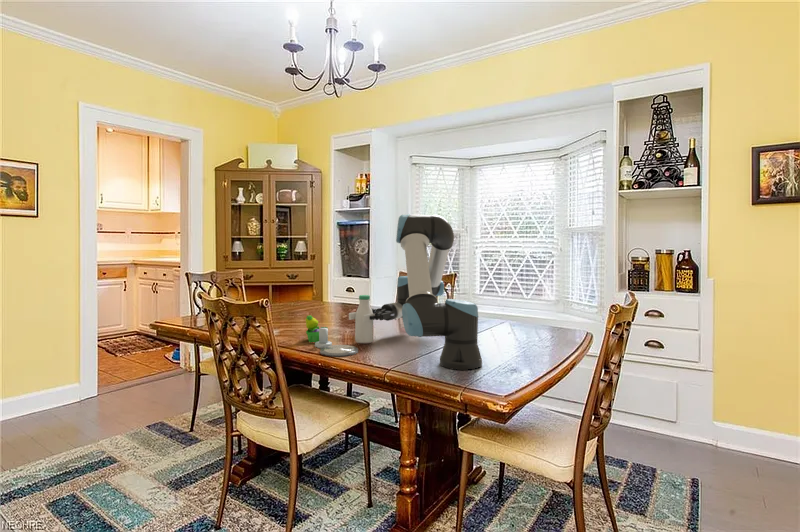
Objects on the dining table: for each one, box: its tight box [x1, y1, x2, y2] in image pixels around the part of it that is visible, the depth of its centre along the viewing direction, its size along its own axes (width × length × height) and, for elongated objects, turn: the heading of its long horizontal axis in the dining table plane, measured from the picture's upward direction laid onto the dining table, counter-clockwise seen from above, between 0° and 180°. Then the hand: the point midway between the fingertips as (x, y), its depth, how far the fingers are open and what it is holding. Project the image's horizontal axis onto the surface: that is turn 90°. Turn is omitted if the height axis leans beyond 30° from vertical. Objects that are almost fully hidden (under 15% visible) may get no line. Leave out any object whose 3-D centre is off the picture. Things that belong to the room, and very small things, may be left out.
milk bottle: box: [354, 294, 374, 344], centre depth 194 cm, size 8×8×20 cm
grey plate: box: [319, 344, 359, 358], centre depth 180 cm, size 15×15×2 cm
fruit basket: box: [305, 315, 328, 342], centre depth 200 cm, size 11×9×11 cm
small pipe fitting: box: [314, 328, 333, 349], centre depth 189 cm, size 7×7×8 cm
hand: (356, 317), depth 190 cm, fingers closed on milk bottle, 7 cm apart
